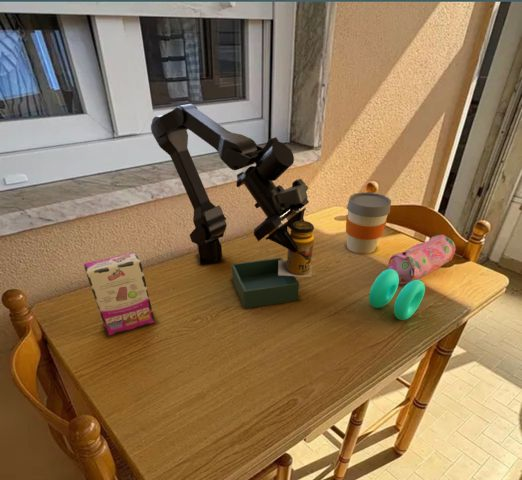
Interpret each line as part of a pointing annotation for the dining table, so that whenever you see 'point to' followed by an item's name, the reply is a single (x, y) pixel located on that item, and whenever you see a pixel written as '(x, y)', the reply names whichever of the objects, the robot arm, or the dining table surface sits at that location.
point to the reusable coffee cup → (366, 221)
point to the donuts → (406, 299)
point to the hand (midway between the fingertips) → (302, 246)
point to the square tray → (263, 283)
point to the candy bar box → (120, 292)
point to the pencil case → (422, 258)
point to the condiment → (299, 251)
